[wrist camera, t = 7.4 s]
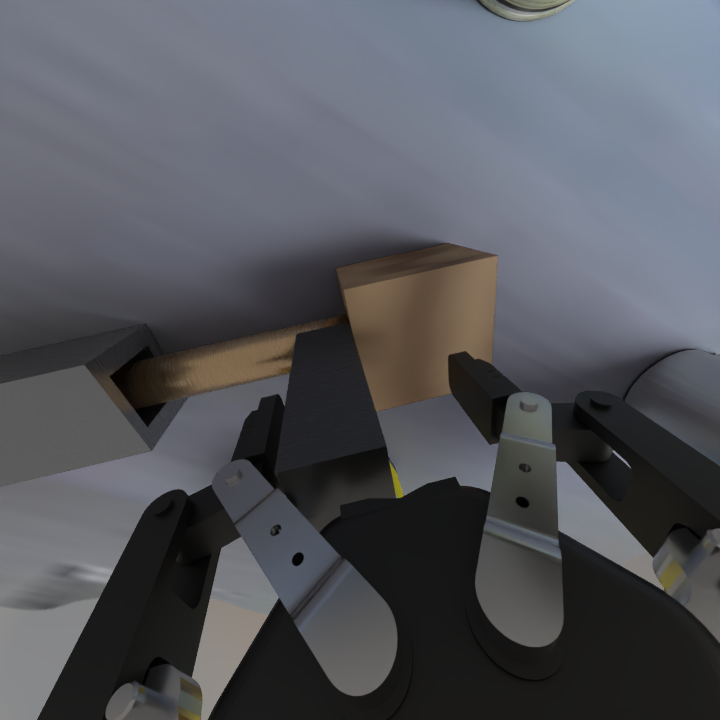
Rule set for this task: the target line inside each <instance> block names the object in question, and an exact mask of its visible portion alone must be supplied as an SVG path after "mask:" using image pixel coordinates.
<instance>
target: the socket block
mask: <svg viewBox="0 0 720 720" xmlns="http://www.w3.org/2000/svg"><path fill="white" fill-rule="evenodd" d="M497 264H498V255H494V254H490V253H486V252H482V251H478V250H474V249H470V248H466V247H462V246H458V245H454V244H450V243H447V244H443V245H438V246H434V247H429V248H424V249H420V250H415V251H411V252H406V253H402V254H397V255H393V256H388V257H384V258H379V259H374V260H370V261H365V262H361V263H356V264H352V265H347V266H343V267H338V268H336V271H337V276H338V280H339V285H340V289H341V294H342V298H343V303H344V307H345V312H346V314H348V317H349V321H350V326H351V329H352V333H353V336H354V339H355V343H356V346H357V349H358V353H359V356H360V360H361V363H362V366H363V370H364V373H365V376H366V380H367V383H368V386H369V390H370V393H371V396H372V400H373V403H374V406H375V410H376V411H380V410H384V409H389V408H393V407H397V406H401V405H405V404H410V403H414V402H418V401H422V400H426V399H431V398H435V397H439V396H443V395H447V394H452V393H451V390H450V387H449V378H448V356H449V355H450V354H454V353H458V352H463V351H466V352H467V353H469V354H470V355H471V356H472V357H473V358H474V359H481V360H484V361H486V362H489V363H490V364H491V365H492V351H493V334H494V316H495V299H496V281H497Z"/></svg>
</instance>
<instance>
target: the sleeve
mask: <svg viewBox="0 0 720 720" xmlns="http://www.w3.org/2000/svg"><path fill="white" fill-rule="evenodd" d="M162 355H164V353H163V352H162V350H161V348H160V347H159V345H158V343H157V342H156V340H155V338H154V337H153V335H152V334H151V332H150V330H149V329H148V327H147V325H146V324H143V325H138V326H134V327H129V328H125V329H120V330H116V331H111V332H107V333H102V334H98V335H93V336H88V337H84V338H79V339H75V340H70V341H66V342H61V343H57V344H52V345H48V346H43V347H39V348H34V349H30V350H25V351H21V352H16V353H12V354H7V355H3V356H0V487H1V486H5V485H10V484H14V483H18V482H22V481H27V480H31V479H35V478H39V477H44V476H48V475H52V474H56V473H60V472H65V471H69V470H73V469H77V468H82V467H86V466H90V465H94V464H98V463H103V462H107V461H111V460H115V459H120V458H124V457H128V456H132V455H137V454H141V453H145V452H149V451H152V450H153V448H154V447H155V445H156V444H157V442H158V441H159V439H160V438H161V436H162V435H163V433H164V432H165V430H166V429H167V428H168V426H169V425H170V423H171V422H172V420H173V419H174V417H175V416H176V414H177V413H178V411H179V410H180V408H181V407H182V406H183V404H184V403H185V401H186V400H187V398H188V397H186V398H181V399H177V400H173V401H168V402H164V403H160V404H155V405H151V406H147V407H142V408H138V409H133V407H132V406H131V405H130V403H129V402H128V401H127V399H126V398H125V397H124V395H123V394H122V393H121V391H120V390H119V389H118V387H117V386H116V385H115V383H114V382H113V381H112V379H111V378H110V377H109V376H110V375H112V374H113V373H114V372H115V371H117V370H118V369H119V368H120V367H122V366H123V365H124V364H127V363H131V362H136V361H140V360H145V359H149V358H153V357H158V356H162Z"/></svg>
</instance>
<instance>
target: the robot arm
mask: <svg viewBox="0 0 720 720" xmlns="http://www.w3.org/2000/svg"><path fill="white" fill-rule="evenodd" d="M448 378H449V387H450V390H451V393H452V394H453V396H454V397H455V399H456V400H457V401H458V403H459V404H460V405H461V407H462V408H463V409H464V411H465V412H466V413H467V415H468V416H469V417H470V419H471V420H472V422H473V423H474V424H475V426H476V427H477V428H478V430H479V431H480V432H481V434H482V435H483V436H484V438H485V439H486V440H487V442H488V443H489V445H491V444H495V443H499V447H498V453H497V458H496V464H495V470H494V476H493V482H492V488H491V492H488V491H486V490H483V489H480V488H475V487H470V486H460V485H459V483H458V481H457V479H456V477H452V478H448V479H444V480H440V481H436V482H432V483H428V484H426V485H424V486H422V487H420V488H418V489H416V490H414V491H413V492H411V493H409V494H407V495H405V496H403V497H401V498H368V499H363V500H359V501H355V502H351V503H347V504H343V505H340V513H341V516H339V517H337V518H335V519H334V520H332V521H331V522H330V523H328V524H327V525H326V526H325V527H324V528H323V529H322V530H321V531H320V532H318V531H317V530H316V529H315V528H314V527H313V526H312V525H311V524H310V522H309V521H308V520H307V519H306V518H305V517H304V516H303V515H302V514H301V513H300V512H299V510H298V509H297V508H296V507H295V506H294V505H293V504H292V503H291V502H290V501H289V500H288V498H287V497H286V496H285V495H284V494H285V493H284V491H283V489H282V487H281V485H280V483H279V481H278V479H277V477H276V475H275V467H276V460H277V454H278V447H279V441H280V435H281V428H282V422H283V416H284V409H285V407H284V404H283V402H282V399H281V397H280V396H279V395H278V394H277V395H272V396H268V397H264V398H261V401H260V404H259V408H258V410H256V411H252V412H251V413H250V415H249V416H248V417H247V418H246V419H245V422H244V425H243V428H242V430H241V433H240V438H239V439H238V442H237V445H236V448H235V451H234V454H233V457H232V460H231V463H229V464H227V465H225V466H224V467H223V468H222V469H220V470H219V471H218V473H217V474H216V475H215V477H214V479H213V481H212V485H210V486H208V487H206V488H204V489H202V490H200V491H198V492H196V493H194V494H192V495H190V496H188V495H187V494H186V492H185V491H183V490H179V489H178V490H172V491H169V492H167V493H165V494H163V495H161V496H160V497H158V498H157V499H156V500H154V501H153V502H152V503H151V504H150V505H149V506H148V507H147V509H146V510H145V511H144V513H143V515H142V516H141V518H140V520H139V522H138V524H137V526H136V528H135V530H134V532H133V534H132V536H131V538H130V540H129V542H128V544H127V546H126V548H125V550H124V552H123V553H122V555H121V557H120V559H119V561H118V563H117V565H116V567H115V569H114V571H113V573H112V575H111V577H110V579H109V581H108V583H107V585H106V587H105V589H104V590H103V592H102V594H101V596H100V598H99V600H98V602H97V604H96V606H95V608H94V610H93V612H92V614H91V616H90V618H89V620H88V622H87V624H86V626H85V627H84V629H83V631H82V633H81V635H80V637H79V639H78V641H77V643H76V645H75V647H74V649H73V651H72V653H71V655H70V657H69V659H68V661H67V663H66V664H65V667H64V669H63V670H62V672H61V674H60V676H59V678H58V680H57V682H56V684H55V686H54V688H53V690H52V692H51V694H50V696H49V698H48V700H47V701H46V703H45V706H44V707H43V709H42V711H41V713H40V715H39V717H38V719H37V720H201V709H202V692H201V688H200V686H199V684H198V683H197V681H195V680H194V679H193V678H192V673H193V670H194V665H195V661H196V656H197V652H198V648H199V643H200V638H201V634H202V630H203V625H204V620H205V616H206V612H207V608H208V603H209V599H210V595H211V590H212V586H213V581H214V577H215V573H216V568H217V564H218V559H219V555H220V551H221V548H222V547H224V546H225V545H227V544H229V543H231V542H232V541H234V540H236V539H238V538H239V537H242V538H243V540H244V542H245V543H246V545H247V546H248V548H249V550H250V551H251V553H252V555H253V556H254V558H255V559H256V561H257V563H258V564H259V566H260V567H261V569H262V571H263V572H264V574H265V575H266V577H267V579H268V580H269V582H270V584H271V585H272V587H273V588H274V590H275V592H276V593H277V595H278V596H279V598H278V600H277V602H276V603H275V605H274V607H273V608H272V610H271V612H270V614H269V615H268V617H267V619H266V620H265V622H264V624H263V625H262V627H261V629H260V630H259V632H258V634H257V635H256V637H255V639H254V641H253V642H252V644H251V645H250V647H249V649H248V651H247V652H246V654H245V656H244V657H243V659H242V661H241V663H240V664H239V666H238V667H237V669H236V671H235V673H234V674H233V676H232V677H231V679H230V681H229V683H228V684H227V686H226V688H225V689H224V691H223V693H222V694H221V696H220V698H219V699H218V701H217V703H216V705H215V706H214V708H213V710H212V712H211V715H210V716H209V719H208V720H720V354H717V355H712V354H710V353H707V352H704V351H700V350H686V351H682V352H678V353H676V354H673V355H670V356H668V357H666V358H665V359H663V360H661V361H659V362H658V363H656V364H655V365H654V366H652V367H651V368H649V369H648V370H647V371H646V372H645V373H644V374H643V375H641V377H640V378H639V379H638V380H637V381H636V382H635V383H634V385H633V386H632V388H631V389H630V390H629V392H628V394H627V396H626V398H625V402H624V401H623V400H621V399H620V398H618V397H616V396H614V395H611V394H609V393H605V392H600V391H585V392H581V393H579V394H578V395H577V396H576V399H575V403H550V402H549V401H548V400H547V399H546V398H544V397H542V396H540V395H538V394H534V393H530V392H522V391H521V390H520V389H519V388H517V387H516V386H515V385H514V384H513V383H512V382H511V381H509V380H508V379H507V378H506V377H505V376H503V375H502V373H500V372H499V371H498V370H497V369H496V368H495V367H494V366H492V365H491V364H490V363H489V362H486V361H484V360H481V359H474V358H473V357H472V356H471V355H470V354H469V353H467V352H466V351H463V352H458V353H454V354H450V355H449V356H448ZM613 450H614V451H615V452H617V453H618V454H619V455H620V456H621V457H622V458H623V459H625V460H626V461H627V463H628V464H629V465H630V467H631V468H630V467H628V466H627V465H626V464H625V463H624V462H623V461H622V460H621V459H619V458H618V457H617V456H616V455H615V454H614V453H613ZM556 461H560V462H567V463H568V464H569V465H570V466H571V467H572V468H573V470H574V471H575V472H576V473H577V474H578V475H579V476H580V477H581V478H582V480H583V481H584V482H585V483H586V484H587V485H588V486H589V487H590V488H591V489H592V491H593V492H594V493H595V494H596V495H597V496H598V497H599V498H600V499H601V501H602V502H603V503H604V504H605V505H606V506H607V507H608V508H609V509H610V510H611V512H612V513H613V514H614V515H615V516H616V517H617V518H618V519H619V520H620V522H621V523H622V524H623V525H624V526H625V527H626V528H627V529H628V530H629V531H630V533H631V534H632V535H633V536H634V537H635V538H636V539H637V540H638V541H639V543H640V544H641V545H642V546H643V547H644V548H645V549H646V550H647V551H648V552H649V554H650V555H651V556H652V557H653V558H654V559H653V564H652V565H653V570H654V572H655V575H656V577H657V579H658V580H659V582H660V583H661V584H662V586H663V587H664V591H663V590H661V589H660V588H658V587H656V586H655V585H653V584H651V583H650V582H648V581H646V580H644V579H643V578H641V577H639V576H637V575H636V574H634V573H632V572H630V571H629V570H627V569H625V568H623V567H622V566H620V565H618V564H616V563H615V562H613V561H611V560H609V559H608V558H606V557H604V556H602V555H601V554H599V553H597V552H595V551H594V550H592V549H590V548H588V547H586V546H585V545H583V544H581V543H579V542H578V541H576V540H574V539H572V538H571V537H569V536H567V535H565V534H564V533H562V532H560V531H558V508H557V474H556Z"/></svg>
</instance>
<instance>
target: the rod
mask: <svg viewBox="0 0 720 720" xmlns="http://www.w3.org/2000/svg"><path fill="white" fill-rule="evenodd" d="M289 373H290V377H289V384H288V390H287V397H286V403H285V409H284V416H283V422H282V428H281V435H280V441H279V447H278V454H277V460H276V467H275V475H276V477H277V479H278V481H279V483H280V485H281V487H282V489H283V491H284V493H285V495H286V497H287V498H288V500H289V501H290V502H291V503H292V504H293V505H294V506H295V507H296V508H297V509H298V510H299V512H300V513H301V514H302V515H303V516H304V517H305V518H306V519H307V520H308V521H309V522H310V524H311V525H312V526H313V527H314V528H315V529H316V530H317V531H318V532H320V531H321V530H322V529H323V528H324V527H325V526H326V525H327V524H328V523H330V522H331V521H332V520H334V519H335V518H337V517H339V516H341V513H340V505H343V504H347V503H351V502H355V501H359V500H363V499H368V498H396V494H395V489H394V483H393V478H392V473H391V468H390V463H389V457H388V452H387V447H386V443H385V440H384V437H383V433H382V430H381V427H380V423H379V420H378V417H377V413H376V410H375V406H374V403H373V400H372V396H371V393H370V390H369V386H368V383H367V380H366V376H365V373H364V370H363V366H362V363H361V360H360V356H359V353H358V349H357V346H356V343H355V339H354V336H353V333H352V329H351V326H350V321H349V317H348V314H344V315H339V316H335V317H331V318H326V319H322V320H317V321H313V322H308V323H304V324H300V325H295V326H291V327H286V328H282V329H277V330H273V331H269V332H264V333H260V334H255V335H251V336H246V337H242V338H238V339H233V340H229V341H224V342H220V343H215V344H211V345H207V346H202V347H198V348H193V349H189V350H184V351H180V352H176V353H171V354H167V355H162V356H158V357H153V358H149V359H145V360H140V361H136V362H131V363H127V364H124V365H123V366H122V367H120V368H119V369H118V370H117V371H115V372H114V373H113V374H112V375H110V376H109V377H110V378H111V379H112V381H113V382H114V383H115V385H116V386H117V387H118V389H119V390H120V391H121V393H122V394H123V395H124V397H125V398H126V399H127V401H128V402H129V403H130V405H131V406H132V407H133V409H138V408H142V407H147V406H151V405H155V404H160V403H164V402H168V401H173V400H177V399H181V398H186V397H190V396H194V395H199V394H203V393H207V392H212V391H216V390H220V389H225V388H229V387H233V386H238V385H242V384H246V383H250V382H255V381H259V380H263V379H268V378H272V377H276V376H281V375H285V374H289Z"/></svg>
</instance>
